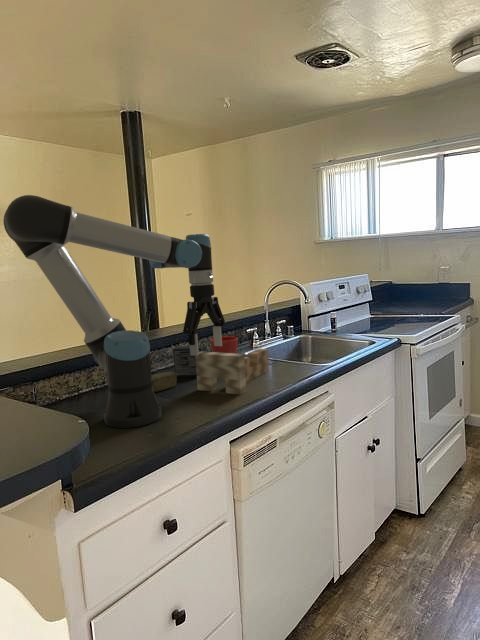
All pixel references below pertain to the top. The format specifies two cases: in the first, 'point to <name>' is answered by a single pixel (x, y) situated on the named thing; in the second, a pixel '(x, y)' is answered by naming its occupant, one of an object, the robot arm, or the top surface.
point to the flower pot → (226, 345)
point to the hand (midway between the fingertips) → (206, 350)
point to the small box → (185, 361)
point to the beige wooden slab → (221, 371)
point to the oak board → (256, 363)
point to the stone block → (163, 381)
